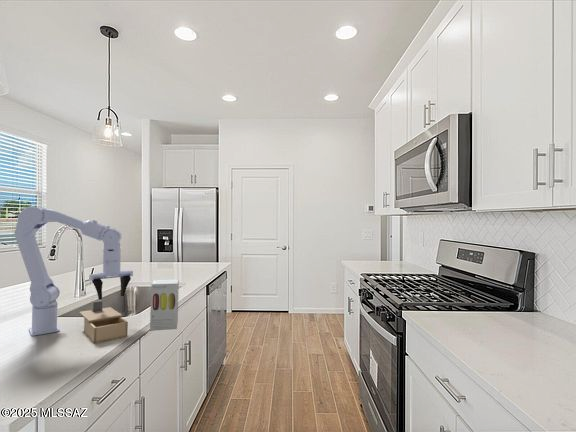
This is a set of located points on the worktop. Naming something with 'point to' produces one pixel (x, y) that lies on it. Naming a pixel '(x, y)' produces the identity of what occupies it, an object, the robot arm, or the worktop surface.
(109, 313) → the carton lid
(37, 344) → the worktop surface
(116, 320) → the carton
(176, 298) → the supplement box
